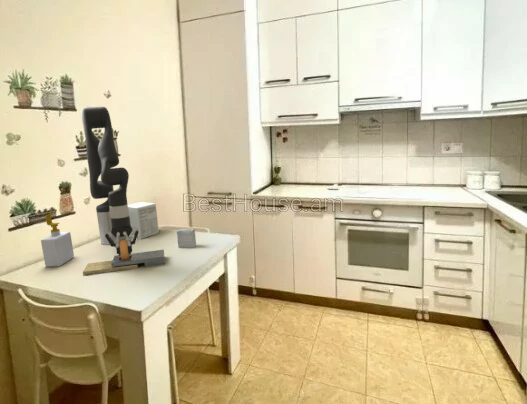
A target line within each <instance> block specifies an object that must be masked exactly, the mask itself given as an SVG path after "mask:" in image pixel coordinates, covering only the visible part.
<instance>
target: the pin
mask: <svg viewBox="0 0 527 404" xmlns="http://www.w3.org/2000/svg"><path fill="white" fill-rule="evenodd" d="M128 238H129V237H128ZM118 240H119V247H120V254H121V260H127V259H130V254H129V252H128V244H127V241H126V236H122V237H118Z"/></svg>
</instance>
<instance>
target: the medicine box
mask: <svg viewBox="0 0 527 404" xmlns="http://www.w3.org/2000/svg"><path fill="white" fill-rule="evenodd" d="M195 231H196V229H195V228H180V229H178V230H177V231H176V236H177V244H178V246H177V247H178V249H184V248H185V249H186V248H187V249H189V248H193V249H194V248H195V247H196V245H197V240H196V239H197V238H196V232H195Z"/></svg>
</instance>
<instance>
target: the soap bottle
mask: <svg viewBox="0 0 527 404" xmlns="http://www.w3.org/2000/svg"><path fill="white" fill-rule="evenodd" d="M55 213H56V211H53V212H52V213H49V214H46V215H45V222H46V225H47V226H50V228H52V229H50V235H48V236H46V237H44V238H42V239H41V240H40V242H41V250H42V255H43V260H44V261H43V262H44V266H45V267H48V268H49V267H50V268H51V267H52V268H53V267H60V266H62V265H64V264H66V263H67V262H69V261H70V260H71V259H74V257H75V253H74V248H73V242H72V235H71V232H70V231H60V228H58V226H59V224H60V222H53V221H52V214H55Z"/></svg>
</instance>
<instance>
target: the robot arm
mask: <svg viewBox="0 0 527 404" xmlns="http://www.w3.org/2000/svg"><path fill="white" fill-rule="evenodd" d="M80 115H81V121H82V122H81V123H82V126H83V127H82V128H83V132H84V137H85V147H86V148H85V149H86V158H87V166H88V173H89V191H90V195H91V197H92V198H93V199H95V200H97V199H98V200H99V199H106V200H105V201H104V202H102V203H101V204H98V205H97V206H96V208H95V212H96V217H97V225H98V230H99V231H98V232H99V239H100V244H101V245H110V247H113V248H115V250H116V255H119V256H121V254H120V247H119V240H118V237H122V236H126V241H127V244H128V252H129V254H132V253H133V245H135V244H136V241H137V239H138V238H137V236H138V232H139V230H134V229H132V227H131V223H130V215H129V208H128V205H129V204H128V198H127V197H128V196H127V191H128V190H127V189H128V184H129V177H130V174H129V172H128V170H127V169H126V168H125V167H117V166H118V165H119V164H120V158H119V155H118V152H117V148H116V144H115V140H114V139H115V138H114V133H113V126H112V121H111V120H112V119H111V115H110V111H109V109H108V108H107V107H105V106H87V107H83V108H82V109H81V114H80ZM93 129H104V132H103V135H102V137H101V139H99V138H98V137H97V136H96V135H95V133H94V131H93ZM99 178H100V180H99ZM114 186H119V187H118V188H117V189H115V190H114ZM131 232H133V235H134V238H132V240H131V237H129V235H130V234H131ZM128 237H129V238H128Z"/></svg>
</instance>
